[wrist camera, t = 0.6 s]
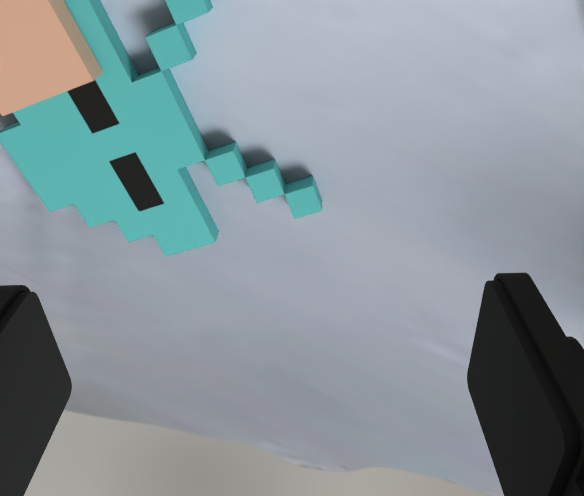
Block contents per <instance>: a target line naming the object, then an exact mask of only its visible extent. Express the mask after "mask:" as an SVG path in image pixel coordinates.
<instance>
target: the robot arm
mask: <svg viewBox="0 0 584 496" xmlns="http://www.w3.org/2000/svg"><path fill="white" fill-rule="evenodd" d="M467 382H468V388H469V392H470V395H471V398H472V401H473V404H474V407H475V410H476V413H477V416H478V419H479V422H480V425H481V427H482V430H483V433H484V436H485V439H486V442H487V445H488V448H489V451H490V454H491V457H492V460H493V463H494V466H495V469H496V472H497V475H498V478H499V481H500V484H501V487H502V490H503V493H504V496H584V349H583V348H582V346H581V345H580V343H579V342H578V341H577V340H576V339H575V338H573V337H566V335H565V334H564V332H563V330H562V329H561V327H560V325H559V324H558V322H557V320H556V319H555V317H554V315H553V314H552V312H551V310H550V309H549V307H548V305H547V304H546V302H545V300H544V299H543V297H542V295H541V294H540V292H539V290H538V289H537V287H536V285H535V284H534V282H533V280H532V279H531V277H530V276H529V275H528V274H527V273H498V274H496V276H495V277H494V281H487V282H486V284H485V287H484V292H483V297H482V302H481V307H480V312H479V317H478V322H477V327H476V332H475V337H474V342H473V348H472V353H471V358H470V363H469V368H468V374H467ZM71 388H72V384H71V379H70V376H69V374H68V371H67V369H66V366H65V363H64V361H63V358H62V356H61V353H60V351H59V348H58V346H57V343H56V341H55V338H54V336H53V333H52V331H51V328H50V325H49V323H48V320H47V318H46V315H45V313H44V310H43V308H42V305H41V303H40V300H39V298H38V296H37V294H36V293H35V292H30V290H29V288H27V287H26V286H24V285H7V286H0V496H23V495H24V493H25V491H26V489H27V487H28V485H29V483H30V481H31V479H32V476H33V474H34V472H35V470H36V468H37V466H38V464H39V461H40V459H41V457H42V455H43V453H44V451H45V449H46V446H47V444H48V442H49V440H50V438H51V436H52V434H53V431H54V429H55V427H56V425H57V423H58V421H59V419H60V416H61V414H62V412H63V410H64V408H65V406H66V404H67V402H68V399H69V397H70V394H71Z"/></svg>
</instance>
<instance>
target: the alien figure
mask: <svg viewBox="0 0 584 496" xmlns="http://www.w3.org/2000/svg"><path fill="white" fill-rule="evenodd" d="M165 1H166V3H167V6H168V8H169V10H170V12H171V14H172V17H173V19H174V21H175V23H173V24H170V25H168V26H165V27H163V28H160V29H158V30H155V31H153V32H151V33H150V34H149V35H148V36H146V37H145V39H146V41H147V43H148V45H149V47H150V49H151V51H152V53H153V55H154V57H155V59H156V61H157V63H158V65H159V67H160V68H157V69H155V70H152V71H149V72H147V73H144V74H142V75H138V73H137V71H136V69H135V67H134V65H133V63H132V61H131V59H130V57H129V55H128V54H127V52H126V50H125V48H124V46H123V44H122V42H121V40H120V38H119V36H118V34H117V32H116V30H115V28H114V26H113V24H112V22H111V20H110V18H109V17H108V15H107V13H106V11H105V9H104V7H103V5H102V3H101V1H100V0H64V2H65V4H66V6H67V7H68V9H69V11H70V13H71V15H72V16H73V18H74V20H75V22H76V24H77V26H78V27H79V29H80V31H81V33H82V35H83V36H84V38H85V40H86V42H87V44H88V46H89V47H90V49H91V51H92V53H93V55H94V56H95V58H96V60H97V62H98V64H99V65H100V67H101V69H102V71H103V73H102V74H101V75H100V76H99V77H97V78H96V79H95V80H94V81H92V82H89V83H86V84H84V85H81V86H79V87H76V88H74V89H71V90H69V91H66V92H63V93H61V94H58V95H56V96H53V97H51V98H48V99H46V100H43V101H41V102H38V103H35V104H33V105H30V106H28V107H25V108H23V109H20V110H18V111H15V112H13V114H14V115H15V117H16V118H17V120H18V121H19V122H17V123H14V124H11V125H9V126H6V127H5V128H4V129H2V130H1V131H0V143H1V144H2V146H3V147H4V148H5V150H6V151H7V153H8V154H9V155H10V157H11V158H12V160H13V161H14V163H15V164H16V165H17V167H18V168H19V170H20V171H21V173H22V174H23V175H24V177H25V178H26V180H27V181H28V183H29V184H30V185H31V187H32V188H33V190H34V191H35V193H36V194H37V195H38V197H39V198H40V200H41V201H42V203H43V204H44V205H45V207H46V208H47V210H48V211H49V212H52V211H55V210H58V209H61V208H64V207H67V206H70V205H73V204H74V205H75V207H76V208H77V210H78V211H79V213H80V214H81V216H82V217H83V219H84V220H85V222H86V223H87V225H88V226H89V228H90V227H93V226H96V225H99V224H102V223H105V222H108V221H112V220H114V221H115V222H116V224H117V226H118V227H119V229H120V230H121V232H122V234H123V235H124V237H125V238H126V240H127V241H128V242H131V241H135V240H138V239H141V238H144V237H148V236H151V235H153V236H154V238H155V240H156V241H157V243H158V245H159V246H160V248H161V250H162V251H163V253H164V255H165V256H166V257H167V256H170V255H174V254H177V253H181V252H184V251H187V250H191V249H194V248H198V247H201V246H204V245H208V244H211V243H215V242H216V239H217V235H218V232H219V231H218V229H217V227H216V225H215V223H214V221H213V219H212V217H211V215H210V213H209V211H208V209H207V208H206V206H205V204H204V202H203V200H202V198H201V196H200V194H199V192H198V190H197V188H196V186H195V184H194V182H193V180H192V178H191V176H190V174H189V172H188V170H187V169H186V167H187V166H190V165H193V164H196V163H199V162H202V161H205V162H206V164H207V166H208V168H209V170H210V172H211V174H212V176H213V178H214V180H215V182H216V184H217V186H221V185H224V184H227V183H230V182H234V181H237V180H240V179H243V178H246V180H247V182H248V185H249V187H250V189H251V191H252V194H253V196H254V198H255V200H256V202H257V203H258V202H262V201H265V200H268V199H271V198H275V197H278V196H281V195H285V197H286V200H287V202H288V204H289V207H290V209H291V212H292V214H293V216H294V219H296V218H299V217H303V216H306V215H310V214H313V213H316V212H320V211H322V199H321V196H320V194H319V191H318V188H317V186H316V183H315V180H314V178H313V176H311V177H308V178H304V179H301V180H298V181H295V182H292V183H288V184H285V182H284V180H283V177H282V175H281V172H280V170H279V167H278V165H277V163H276V160H275V159H274V160H271V161H268V162H265V163H262V164H259V165H255V166H252V167H249V168H248V167H247V165H246V163H245V161H244V158H243V156H242V154H241V152H240V149H239V147H238V145H237V143H236V142H234V143H231V144H228V145H225V146H222V147H219V148H216V149H213V150H210V151H209V150H208V148H207V146H206V144H205V142H204V140H203V138H202V136H201V134H200V132H199V130H198V127H197V125H196V123H195V121H194V119H193V117H192V115H191V113H190V111H189V109H188V107H187V104H186V102H185V100H184V98H183V96H182V94H181V92H180V90H179V88H178V86H177V84H176V81H175V79H174V77H173V75H172V73H171V71H170V69H169V68H172V67H174V66H177V65H180V64H182V63H185V62H187V61H190V60H192V59H193V58H194V56H195V55H196V54H197V53H196V50H195V48H194V46H193V44H192V41H191V39H190V37H189V35H188V32H187V30H186V28H185V26H184V23H183V22H185V21H188V20H190V19H193V18H195V17H198V16H200V15H203V14H205V13H208V12H209V11H210V10H211V9H212V8H213V6H212V4H211V1H210V0H165Z"/></svg>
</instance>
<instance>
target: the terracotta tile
mask: <svg viewBox="0 0 584 496" xmlns="http://www.w3.org/2000/svg"><path fill="white" fill-rule="evenodd" d="M102 73H103V71H102V69H101V67H100V65H99V64H98V62H97V60H96V58H95V56H94V55H93V53H92V51H91V49H90V47H89V46H88V44H87V42H86V40H85V38H84V36H83V35H82V33H81V31H80V29H79V27H78V26H77V24H76V22H75V20H74V18H73V16H72V15H71V13H70V11H69V9H68V7H67V6H66V4H65V2H64V0H0V114H1V115H2V116H5V115H7V114H10V113H12V112H15V111H18V110H20V109H23V108H25V107H28V106H30V105H33V104H35V103H38V102H41V101H43V100H46V99H48V98H51V97H53V96H56V95H58V94H61V93H63V92H66V91H69V90H71V89H74V88H76V87H79V86H81V85H84V84H86V83H89V82H92V81H94V80H95V79H96V78H97V77H99V76H100V75H101V74H102Z"/></svg>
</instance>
